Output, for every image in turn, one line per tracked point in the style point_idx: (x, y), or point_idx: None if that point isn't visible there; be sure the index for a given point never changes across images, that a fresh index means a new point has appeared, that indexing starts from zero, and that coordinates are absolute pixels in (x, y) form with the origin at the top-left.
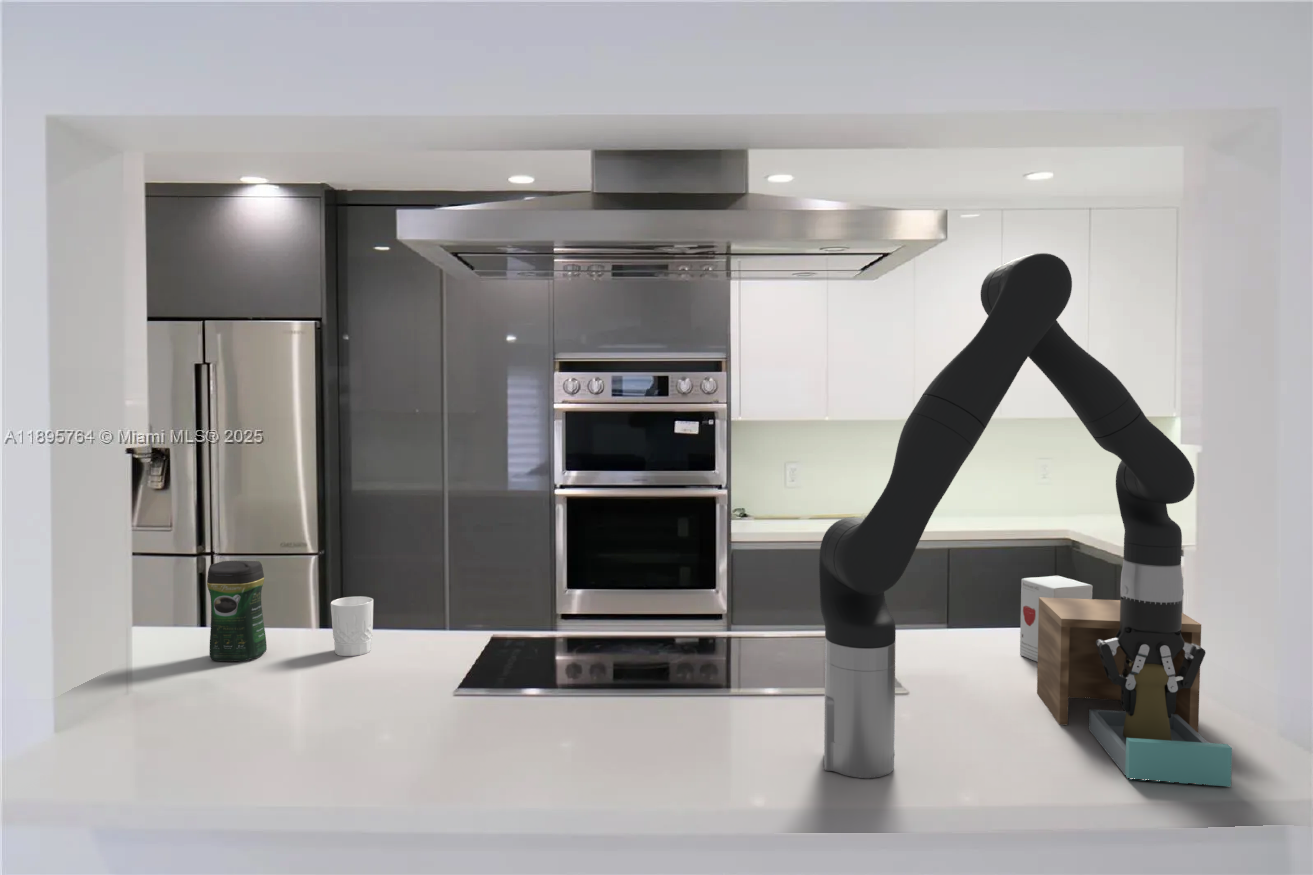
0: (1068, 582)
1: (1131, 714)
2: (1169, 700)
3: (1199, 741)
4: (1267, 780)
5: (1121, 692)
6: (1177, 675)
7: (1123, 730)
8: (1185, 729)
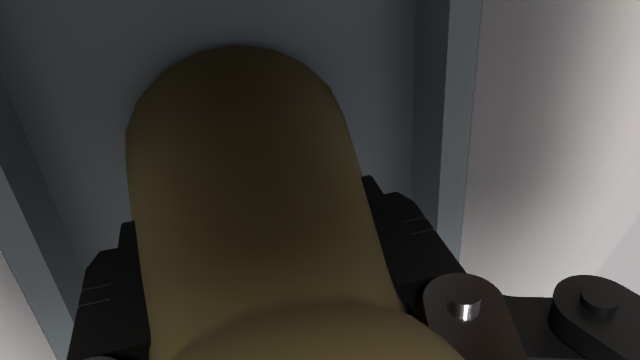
0: None
1: None
2: None
3: None
4: (545, 245)
5: (74, 343)
6: (588, 349)
7: (126, 152)
8: (437, 113)
